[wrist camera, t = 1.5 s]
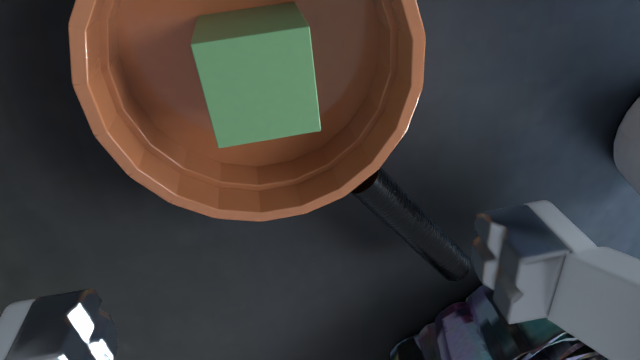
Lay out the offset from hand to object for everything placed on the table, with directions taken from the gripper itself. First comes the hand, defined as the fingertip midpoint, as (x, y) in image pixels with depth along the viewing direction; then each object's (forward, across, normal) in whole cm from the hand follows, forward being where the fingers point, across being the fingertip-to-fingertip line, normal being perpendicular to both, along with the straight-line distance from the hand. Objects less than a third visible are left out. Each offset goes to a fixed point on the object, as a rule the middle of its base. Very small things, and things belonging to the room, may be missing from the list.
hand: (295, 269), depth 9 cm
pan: (+15, 0, 0) cm, 15 cm away
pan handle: (+13, -7, +10) cm, 18 cm away
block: (+14, 0, 0) cm, 15 cm away
